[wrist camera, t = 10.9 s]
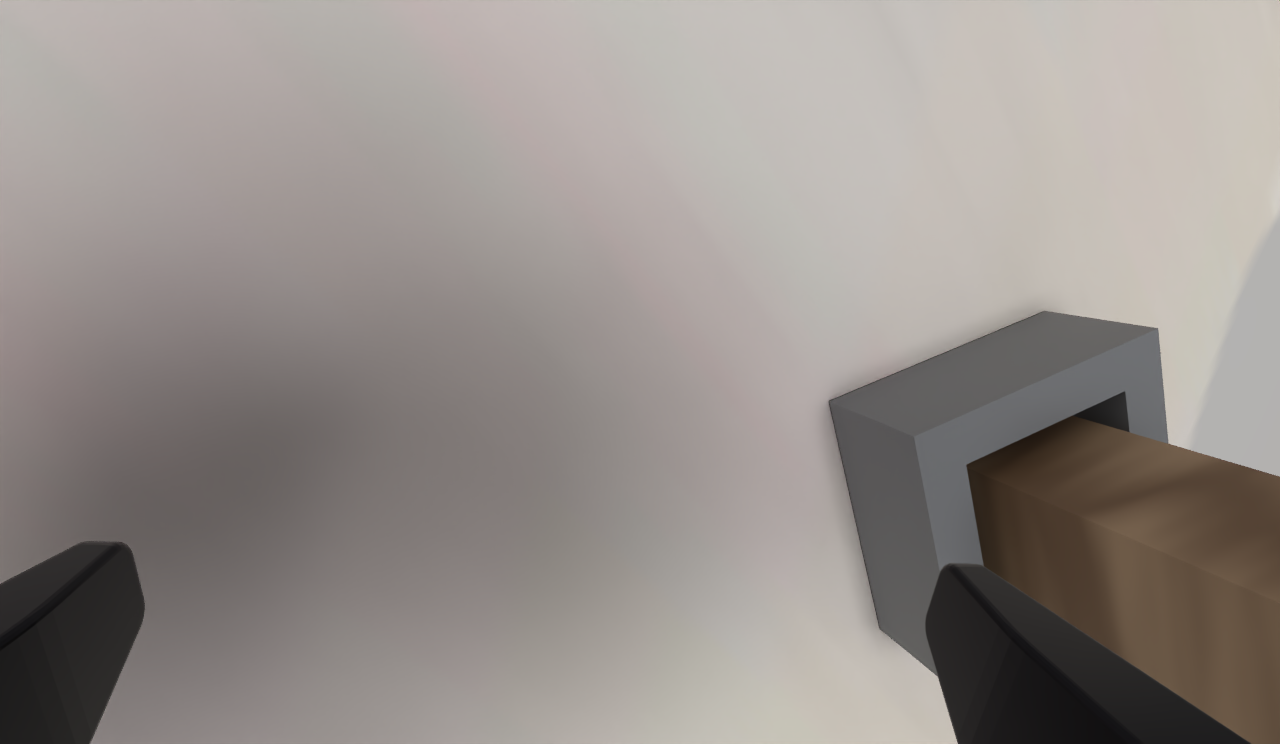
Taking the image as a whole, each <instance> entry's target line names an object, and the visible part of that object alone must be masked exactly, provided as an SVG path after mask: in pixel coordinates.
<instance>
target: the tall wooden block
mask: <svg viewBox="0 0 1280 744" xmlns="http://www.w3.org/2000/svg"><path fill="white" fill-rule="evenodd" d="M966 467H967V472H968V478H969V484H970V490H971V495H972V501H973V507H974V513H975V519H976V524H977V530H978V536H979V542H980V547H981V553H982V559H983V565H984V567H986V568H987V569H989V570H990V571H992V572H994V573H995V574H997V575H998V576H1000V577H1001V578H1003V579H1004V580H1006V581H1007V582H1009V583H1010V584H1012V585H1013V586H1015V587H1016V588H1018V589H1019V590H1021V591H1022V592H1024V593H1025V594H1027V595H1028V596H1030V597H1031V598H1033V599H1034V600H1036V601H1037V602H1039V603H1040V604H1042V605H1043V606H1045V607H1046V608H1048V609H1049V610H1051V611H1052V612H1054V613H1055V614H1057V615H1058V616H1060V617H1061V618H1063V619H1064V620H1066V621H1067V622H1069V623H1070V624H1072V625H1073V626H1075V627H1076V628H1078V629H1079V630H1081V631H1082V632H1084V633H1086V634H1087V635H1089V636H1090V637H1092V638H1093V639H1095V640H1096V641H1098V642H1099V643H1101V644H1102V645H1104V646H1105V647H1107V648H1108V649H1110V650H1111V651H1113V652H1114V653H1116V654H1117V655H1119V656H1120V657H1122V658H1123V659H1125V660H1126V661H1128V662H1129V663H1131V664H1132V665H1134V666H1135V667H1137V668H1138V669H1140V670H1141V671H1143V672H1144V673H1146V674H1147V675H1149V676H1150V677H1152V678H1153V679H1155V680H1156V681H1158V682H1159V683H1161V684H1162V685H1164V686H1165V687H1167V688H1168V689H1170V690H1171V691H1173V692H1175V693H1176V694H1178V695H1179V696H1181V697H1182V698H1184V699H1185V700H1187V701H1188V702H1190V703H1191V704H1193V705H1194V706H1196V707H1197V708H1199V709H1200V710H1202V711H1203V712H1205V713H1206V714H1208V715H1209V716H1211V717H1212V718H1214V719H1215V720H1217V721H1218V722H1220V723H1221V724H1223V725H1224V726H1226V727H1227V728H1229V729H1230V730H1232V731H1233V732H1235V733H1236V734H1238V735H1239V736H1241V737H1242V738H1244V739H1245V740H1247V741H1248V742H1250V743H1251V744H1280V477H1279V476H1275V475H1272V474H1269V473H1265V472H1262V471H1259V470H1255V469H1252V468H1248V467H1245V466H1241V465H1238V464H1235V463H1231V462H1228V461H1225V460H1221V459H1218V458H1214V457H1211V456H1208V455H1204V454H1201V453H1197V452H1194V451H1191V450H1187V449H1184V448H1181V447H1177V446H1174V445H1170V444H1167V443H1164V442H1160V441H1157V440H1154V439H1150V438H1147V437H1143V436H1140V435H1137V434H1133V433H1130V432H1126V431H1123V430H1120V429H1116V428H1113V427H1109V426H1106V425H1103V424H1099V423H1096V422H1093V421H1089V420H1086V419H1082V418H1079V417H1076V416H1070V417H1068V418H1066V419H1064V420H1061V421H1059V422H1057V423H1055V424H1053V425H1051V426H1048V427H1046V428H1044V429H1042V430H1040V431H1038V432H1035V433H1033V434H1031V435H1029V436H1027V437H1025V438H1023V439H1020V440H1018V441H1016V442H1014V443H1012V444H1010V445H1007V446H1005V447H1003V448H1001V449H999V450H997V451H994V452H992V453H990V454H988V455H986V456H984V457H982V458H979V459H977V460H975V461H973V462H971V463H969V464H966Z"/></svg>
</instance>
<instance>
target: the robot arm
mask: <svg viewBox="0 0 1280 744" xmlns="http://www.w3.org/2000/svg"><path fill="white" fill-rule="evenodd" d="M144 610H145V603H144V597H143V593H142V589H141V585H140V581H139V577H138V573H137V569H136V565H135V561H134V557H133V554H132V551H131V549H130V548H129V547H128V545H126V544H124V543H122V542H103V541H87V542H82V543H79V544H77V545H75V546H73V547H71V548H69V549H67V550H65V551H63V552H61V553H59V554H57V555H55V556H54V557H52V558H50V559H48V560H46V561H44V562H42V563H40V564H38V565H36V566H34V567H32V568H30V569H28V570H26V571H24V572H23V573H21V574H19V575H17V576H15V577H13V578H11V579H9V580H7V581H5V582H3V583H1V584H0V744H90V742H91V740H92V738H93V736H94V734H95V731H96V729H97V727H98V724H99V722H100V720H101V717H102V715H103V713H104V710H105V708H106V706H107V703H108V701H109V699H110V696H111V694H112V692H113V690H114V687H115V685H116V683H117V680H118V678H119V676H120V673H121V671H122V669H123V666H124V664H125V662H126V659H127V657H128V655H129V652H130V650H131V648H132V645H133V643H134V641H135V639H136V636H137V634H138V632H139V629H140V627H141V624H142V621H143V617H144ZM925 632H926V638H927V642H928V645H929V648H930V652H931V655H932V658H933V662H934V665H935V668H936V672H937V675H938V679H939V682H940V685H941V689H942V692H943V695H944V699H945V702H946V706H947V709H948V712H949V716H950V719H951V722H952V726H953V729H954V732H955V736H956V739H957V742H958V744H1251V743H1250V742H1248V741H1247V740H1245V739H1244V738H1242V737H1241V736H1239V735H1238V734H1236V733H1235V732H1233V731H1232V730H1230V729H1229V728H1227V727H1226V726H1224V725H1223V724H1221V723H1220V722H1218V721H1217V720H1215V719H1214V718H1212V717H1211V716H1209V715H1208V714H1206V713H1205V712H1203V711H1202V710H1200V709H1199V708H1197V707H1196V706H1194V705H1193V704H1191V703H1190V702H1188V701H1187V700H1185V699H1184V698H1182V697H1181V696H1179V695H1178V694H1176V693H1175V692H1173V691H1171V690H1170V689H1168V688H1167V687H1165V686H1164V685H1162V684H1161V683H1159V682H1158V681H1156V680H1155V679H1153V678H1152V677H1150V676H1149V675H1147V674H1146V673H1144V672H1143V671H1141V670H1140V669H1138V668H1137V667H1135V666H1134V665H1132V664H1131V663H1129V662H1128V661H1126V660H1125V659H1123V658H1122V657H1120V656H1119V655H1117V654H1116V653H1114V652H1113V651H1111V650H1110V649H1108V648H1107V647H1105V646H1104V645H1102V644H1101V643H1099V642H1098V641H1096V640H1095V639H1093V638H1092V637H1090V636H1089V635H1087V634H1086V633H1084V632H1082V631H1081V630H1079V629H1078V628H1076V627H1075V626H1073V625H1072V624H1070V623H1069V622H1067V621H1066V620H1064V619H1063V618H1061V617H1060V616H1058V615H1057V614H1055V613H1054V612H1052V611H1051V610H1049V609H1048V608H1046V607H1045V606H1043V605H1042V604H1040V603H1039V602H1037V601H1036V600H1034V599H1033V598H1031V597H1030V596H1028V595H1027V594H1025V593H1024V592H1022V591H1021V590H1019V589H1018V588H1016V587H1015V586H1013V585H1012V584H1010V583H1009V582H1007V581H1006V580H1004V579H1003V578H1001V577H1000V576H998V575H997V574H995V573H994V572H992V571H990V570H989V569H987V568H986V567H984V566H983V565H980V564H972V563H949V564H946V565H945V566H943V568H942V569H941V571H940V573H939V575H938V579H937V582H936V585H935V588H934V591H933V594H932V597H931V601H930V604H929V607H928V610H927V613H926V618H925Z"/></svg>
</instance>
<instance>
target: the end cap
mask: <svg viewBox="0 0 1280 744" xmlns="http://www.w3.org/2000/svg"><path fill="white" fill-rule="evenodd" d="M829 403H830V408H831V412H832V417H833V421H834V426H835V430H836V434H837V439H838V443H839V448H840V452H841V457H842V461H843V466H844V470H845V475H846V479H847V484H848V488H849V492H850V497H851V501H852V506H853V510H854V515H855V519H856V524H857V528H858V533H859V537H860V542H861V546H862V551H863V555H864V559H865V564H866V568H867V573H868V577H869V582H870V586H871V591H872V595H873V600H874V604H875V609H876V613H877V617H878V622H879V626H880V629H881V630H882V631H883V632H884V633H885V634H887V635H888V636H889V637H890V638H891V639H893V640H894V641H895V642H896V643H898V644H899V645H900V646H901V647H902V648H904V649H905V650H906V651H907V652H909V653H910V654H911V655H912V656H913V657H915V658H916V659H917V660H918V661H920V662H921V663H922V664H923V665H924V666H926V667H927V668H928V669H929V670H930V671H932V672H933V673H934V674H935V675H937V672H936V668H935V665H934V662H933V658H932V655H931V652H930V648H929V645H928V642H927V638H926V632H925V618H926V613H927V610H928V607H929V604H930V601H931V597H932V594H933V591H934V588H935V585H936V582H937V579H938V575H939V573H940V571H941V569H942V568H943V566H945V565H946V564H949V563H972V564H980V565H983V559H982V553H981V547H980V542H979V536H978V530H977V524H976V519H975V513H974V507H973V501H972V495H971V490H970V484H969V478H968V472H967V467H966V464H969V463H971V462H973V461H975V460H977V459H979V458H982V457H984V456H986V455H988V454H990V453H992V452H994V451H997V450H999V449H1001V448H1003V447H1005V446H1007V445H1010V444H1012V443H1014V442H1016V441H1018V440H1020V439H1023V438H1025V437H1027V436H1029V435H1031V434H1033V433H1035V432H1038V431H1040V430H1042V429H1044V428H1046V427H1048V426H1051V425H1053V424H1055V423H1057V422H1059V421H1061V420H1064V419H1066V418H1068V417H1070V416H1076V417H1079V418H1082V419H1086V420H1089V421H1093V422H1096V423H1099V424H1103V425H1106V426H1109V427H1113V428H1116V429H1120V430H1123V431H1126V432H1130V433H1133V434H1137V435H1140V436H1143V437H1147V438H1150V439H1154V440H1157V441H1160V442H1164V443H1167V444H1168V434H1167V423H1166V412H1165V400H1164V389H1163V378H1162V367H1161V356H1160V345H1159V333H1158V328H1152V327H1146V326H1139V325H1133V324H1126V323H1120V322H1113V321H1107V320H1100V319H1093V318H1087V317H1080V316H1074V315H1067V314H1061V313H1054V312H1048V311H1044V312H1042V313H1039V314H1037V315H1034V316H1032V317H1030V318H1027V319H1025V320H1023V321H1020V322H1018V323H1015V324H1013V325H1011V326H1008V327H1006V328H1003V329H1001V330H999V331H996V332H994V333H991V334H989V335H987V336H984V337H982V338H979V339H977V340H975V341H972V342H970V343H967V344H965V345H963V346H960V347H958V348H955V349H953V350H951V351H948V352H946V353H943V354H941V355H939V356H936V357H934V358H931V359H929V360H927V361H924V362H922V363H919V364H917V365H915V366H912V367H910V368H907V369H905V370H903V371H900V372H898V373H895V374H893V375H891V376H888V377H886V378H883V379H881V380H879V381H876V382H874V383H871V384H869V385H867V386H864V387H862V388H859V389H857V390H855V391H852V392H850V393H847V394H845V395H843V396H840V397H838V398H836V399H833V400H831V401H829ZM983 566H984V565H983ZM937 676H938V675H937Z"/></svg>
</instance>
